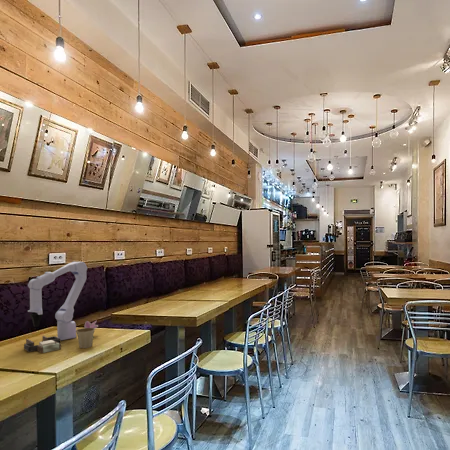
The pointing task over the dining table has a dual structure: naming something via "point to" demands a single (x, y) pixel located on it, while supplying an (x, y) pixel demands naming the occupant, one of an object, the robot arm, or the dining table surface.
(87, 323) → the lily
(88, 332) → the flower pot
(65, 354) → the dining table surface
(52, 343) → the cream block
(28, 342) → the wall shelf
